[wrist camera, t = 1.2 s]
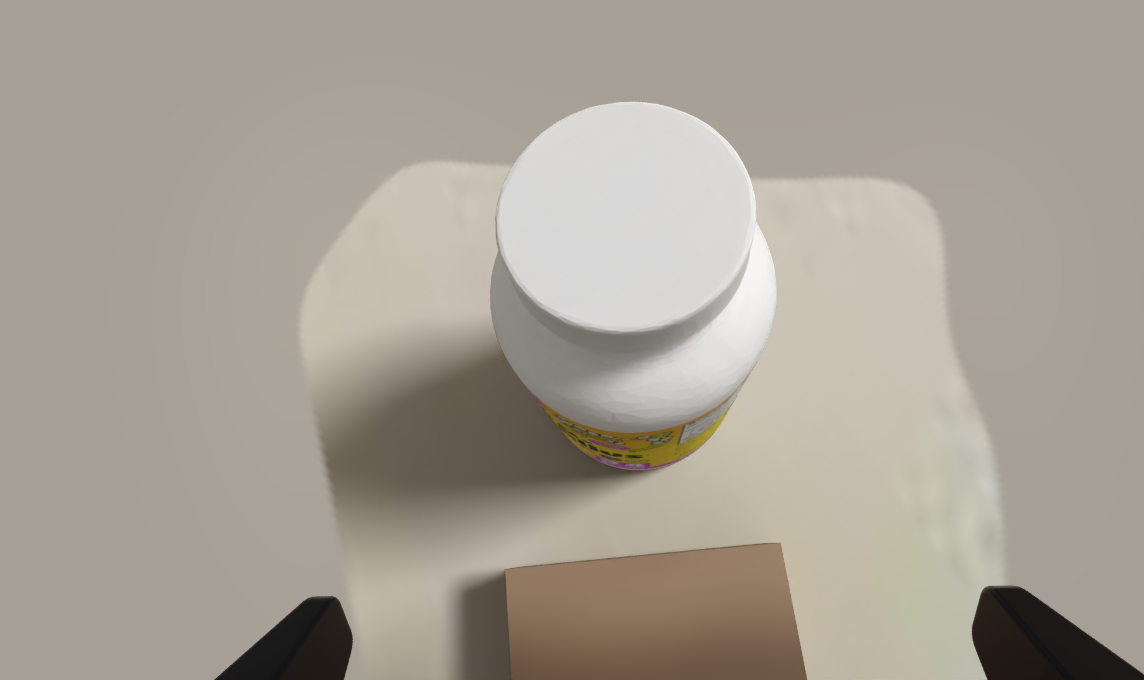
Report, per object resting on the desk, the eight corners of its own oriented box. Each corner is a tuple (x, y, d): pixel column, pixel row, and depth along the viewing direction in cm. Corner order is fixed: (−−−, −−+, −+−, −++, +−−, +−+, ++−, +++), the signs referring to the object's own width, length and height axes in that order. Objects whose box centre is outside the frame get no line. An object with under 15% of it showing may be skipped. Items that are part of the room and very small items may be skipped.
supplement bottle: (514, 385, 24) (367, 217, 11) (635, 269, 24) (617, -1, 12) (640, 515, 21) (623, 476, 9) (767, 383, 22) (902, 192, 10)
